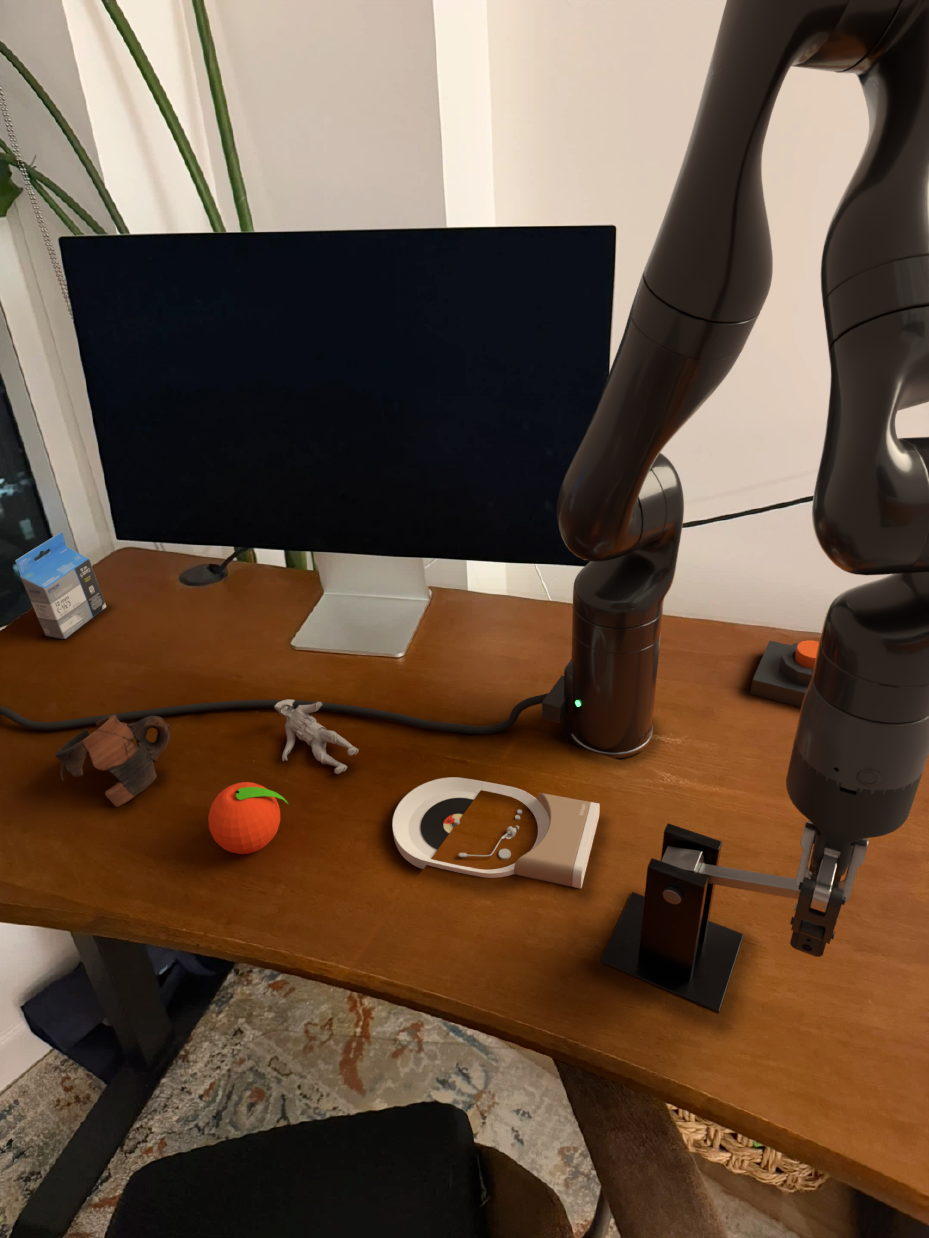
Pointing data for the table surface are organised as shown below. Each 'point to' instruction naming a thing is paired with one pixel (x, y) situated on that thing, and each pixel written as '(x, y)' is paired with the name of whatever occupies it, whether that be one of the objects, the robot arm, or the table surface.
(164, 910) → the table surface
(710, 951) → the bracket
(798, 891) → the lever
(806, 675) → the button box
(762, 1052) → the table surface
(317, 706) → the soldier figure
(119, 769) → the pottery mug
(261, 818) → the clementine
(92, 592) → the label tape box
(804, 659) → the button
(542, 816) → the record player
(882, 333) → the robot arm
